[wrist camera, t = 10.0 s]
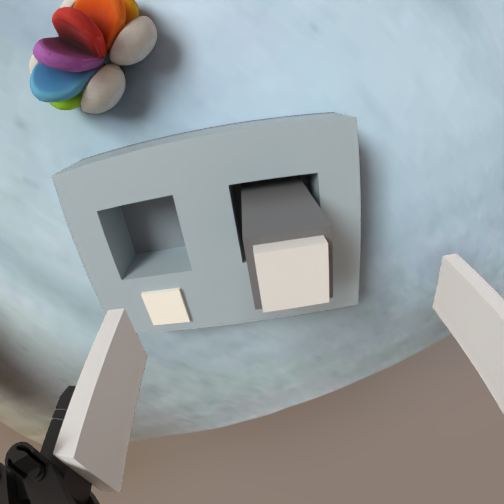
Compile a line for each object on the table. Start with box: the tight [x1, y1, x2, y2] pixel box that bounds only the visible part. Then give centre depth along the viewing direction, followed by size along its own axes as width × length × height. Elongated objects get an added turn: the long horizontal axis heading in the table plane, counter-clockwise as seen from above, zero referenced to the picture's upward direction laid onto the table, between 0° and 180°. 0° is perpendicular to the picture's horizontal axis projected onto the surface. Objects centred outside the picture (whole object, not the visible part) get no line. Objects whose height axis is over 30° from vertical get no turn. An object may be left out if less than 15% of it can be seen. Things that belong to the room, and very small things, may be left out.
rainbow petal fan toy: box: [29, 0, 157, 114], centre depth 15 cm, size 8×10×7 cm
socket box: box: [52, 112, 361, 334], centre depth 23 cm, size 20×14×5 cm
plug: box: [241, 175, 333, 313], centre depth 19 cm, size 4×4×11 cm
